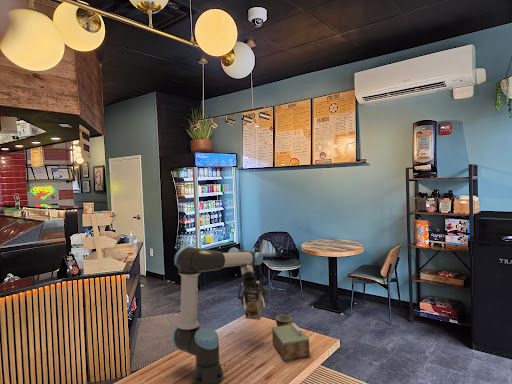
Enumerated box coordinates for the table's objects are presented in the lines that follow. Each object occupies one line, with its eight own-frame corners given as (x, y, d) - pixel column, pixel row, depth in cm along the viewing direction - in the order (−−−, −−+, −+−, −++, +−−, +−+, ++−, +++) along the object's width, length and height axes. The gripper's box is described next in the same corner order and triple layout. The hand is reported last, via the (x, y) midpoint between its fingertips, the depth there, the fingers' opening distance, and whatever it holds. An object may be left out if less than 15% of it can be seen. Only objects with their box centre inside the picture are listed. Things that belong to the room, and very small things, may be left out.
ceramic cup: (294, 335, 208) (294, 319, 207) (280, 338, 204) (279, 322, 204) (285, 326, 220) (284, 312, 219) (271, 329, 216) (271, 315, 216)
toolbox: (284, 362, 178) (283, 345, 177) (272, 344, 197) (272, 329, 197) (309, 357, 182) (309, 341, 181) (296, 340, 201) (295, 326, 201)
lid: (283, 345, 177) (283, 337, 177) (272, 329, 197) (271, 322, 197) (309, 340, 181) (308, 333, 181) (295, 325, 201) (295, 318, 200)
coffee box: (245, 318, 194) (243, 292, 193) (248, 314, 200) (247, 288, 199) (259, 320, 191) (258, 293, 190) (263, 315, 198) (261, 289, 197)
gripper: (264, 275, 212) (272, 308, 198) (229, 279, 207) (234, 313, 193) (266, 269, 207) (274, 302, 193) (230, 273, 202) (236, 308, 187)
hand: (254, 308), depth 193 cm, fingers closed on coffee box, 11 cm apart
